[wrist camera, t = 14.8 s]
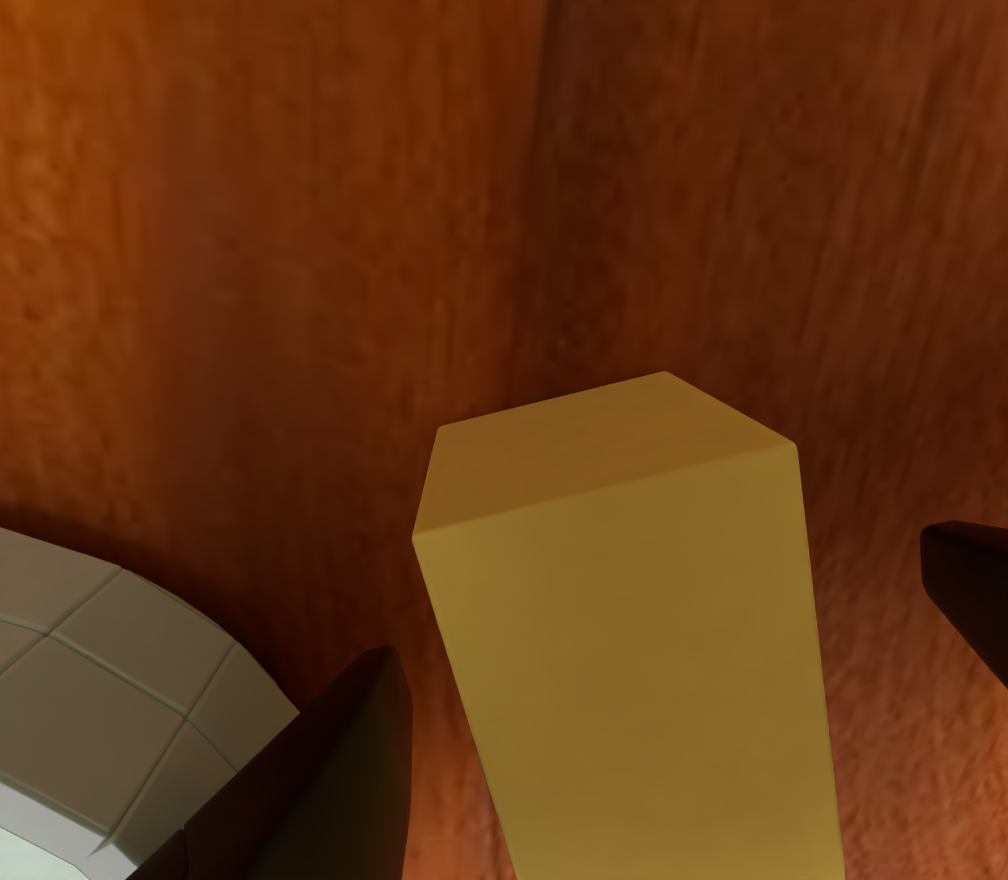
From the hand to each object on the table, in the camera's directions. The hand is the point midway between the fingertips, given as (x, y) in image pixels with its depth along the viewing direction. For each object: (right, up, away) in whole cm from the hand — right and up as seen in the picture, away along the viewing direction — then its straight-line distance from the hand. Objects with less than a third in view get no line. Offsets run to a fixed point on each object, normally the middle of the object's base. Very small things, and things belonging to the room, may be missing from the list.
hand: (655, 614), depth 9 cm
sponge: (-1, 0, +1) cm, 2 cm away
